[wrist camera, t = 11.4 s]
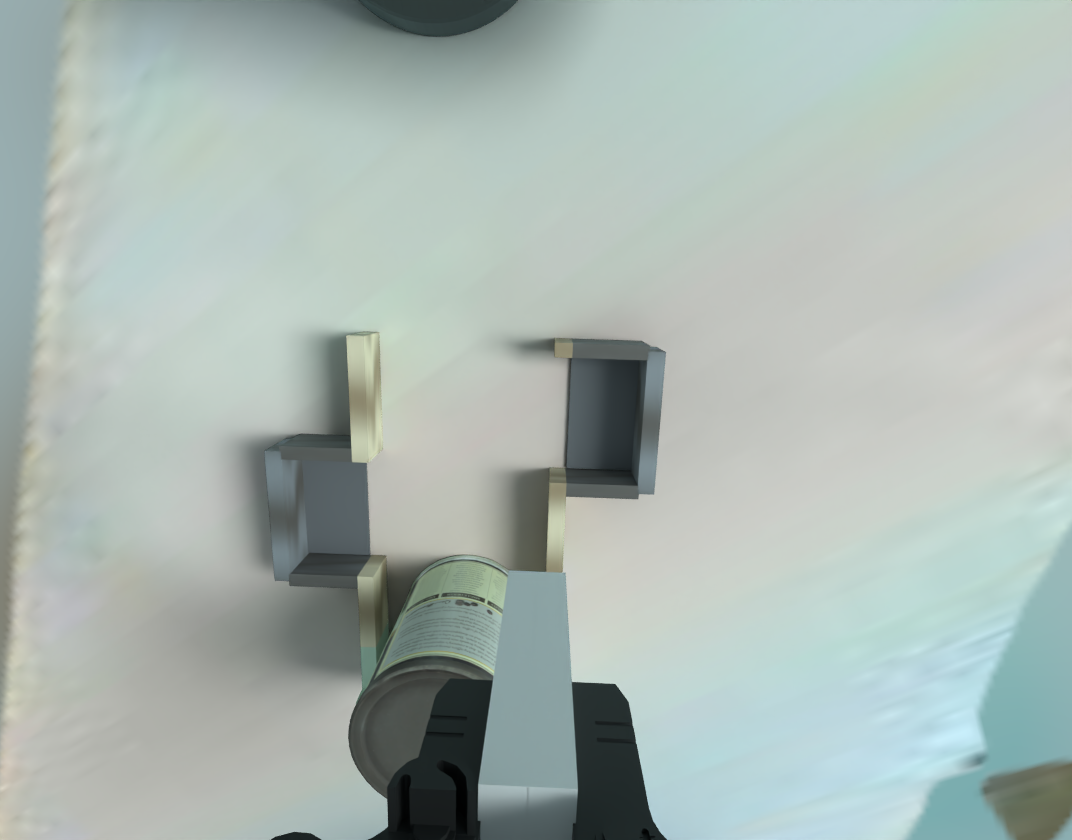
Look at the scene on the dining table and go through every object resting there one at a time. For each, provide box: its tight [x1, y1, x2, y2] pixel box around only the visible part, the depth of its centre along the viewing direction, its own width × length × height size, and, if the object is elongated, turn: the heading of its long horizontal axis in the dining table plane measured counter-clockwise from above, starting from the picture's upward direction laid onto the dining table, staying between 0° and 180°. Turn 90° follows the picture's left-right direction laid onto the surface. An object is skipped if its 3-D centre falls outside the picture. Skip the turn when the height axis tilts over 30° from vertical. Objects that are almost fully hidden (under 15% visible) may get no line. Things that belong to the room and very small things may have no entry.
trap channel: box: [264, 332, 666, 647], centre depth 42 cm, size 24×28×4 cm
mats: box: [302, 358, 639, 555], centre depth 44 cm, size 17×26×1 cm, turn 88°
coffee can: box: [348, 555, 509, 798], centre depth 40 cm, size 10×10×14 cm
